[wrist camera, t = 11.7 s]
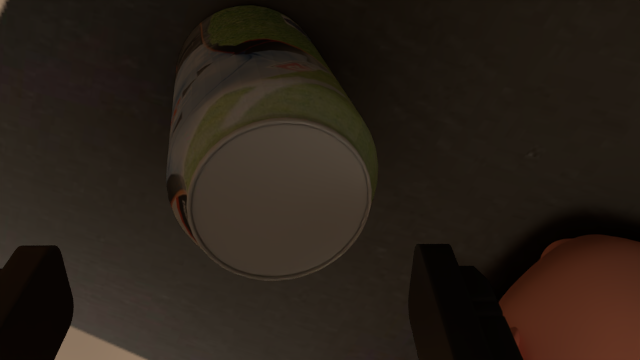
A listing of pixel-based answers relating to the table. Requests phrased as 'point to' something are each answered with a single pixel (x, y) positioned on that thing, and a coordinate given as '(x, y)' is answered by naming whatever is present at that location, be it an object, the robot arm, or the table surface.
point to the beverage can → (266, 148)
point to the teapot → (578, 301)
